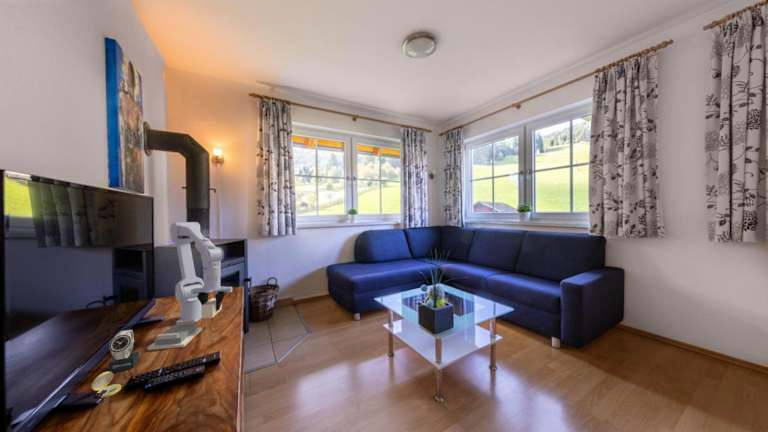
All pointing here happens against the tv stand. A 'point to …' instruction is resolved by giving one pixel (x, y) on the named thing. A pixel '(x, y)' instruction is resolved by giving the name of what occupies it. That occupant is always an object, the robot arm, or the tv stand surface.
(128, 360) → the watch
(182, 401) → the tv stand surface
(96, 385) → the gold round case
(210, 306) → the cream rectangular box
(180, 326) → the display stand
